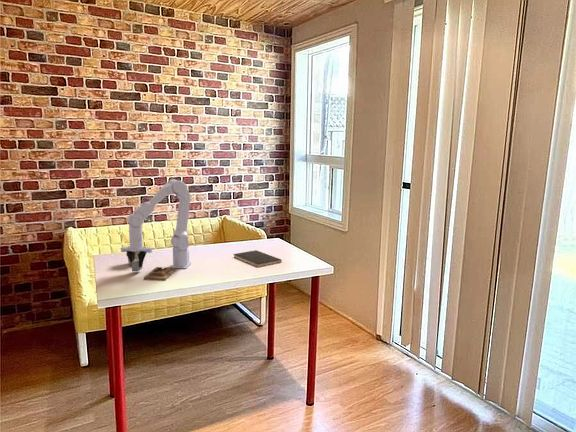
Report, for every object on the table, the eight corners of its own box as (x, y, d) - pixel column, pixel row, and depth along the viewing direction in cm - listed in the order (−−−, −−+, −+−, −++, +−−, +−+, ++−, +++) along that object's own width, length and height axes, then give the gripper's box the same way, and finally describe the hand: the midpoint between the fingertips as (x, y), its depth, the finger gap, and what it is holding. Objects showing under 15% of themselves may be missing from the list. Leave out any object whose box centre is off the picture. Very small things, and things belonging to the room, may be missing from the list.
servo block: (136, 268, 200) (136, 257, 199) (142, 268, 200) (142, 257, 199) (131, 271, 195) (131, 260, 194) (138, 271, 195) (137, 260, 194)
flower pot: (130, 267, 206) (129, 250, 204) (122, 263, 212) (121, 247, 210) (148, 264, 212) (147, 247, 211) (139, 260, 219) (138, 244, 217)
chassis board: (155, 270, 203) (155, 265, 202) (175, 271, 202) (175, 266, 202) (144, 279, 189) (143, 274, 188) (165, 280, 188) (165, 275, 188)
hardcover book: (257, 268, 212) (257, 263, 212) (233, 258, 229) (233, 254, 229) (281, 263, 222) (281, 259, 222) (256, 253, 240) (256, 250, 239)
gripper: (117, 240, 192) (118, 268, 194) (147, 241, 191) (148, 269, 193) (123, 237, 199) (125, 264, 201) (153, 237, 198) (154, 265, 200)
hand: (137, 266), depth 198 cm, fingers closed on servo block, 3 cm apart
